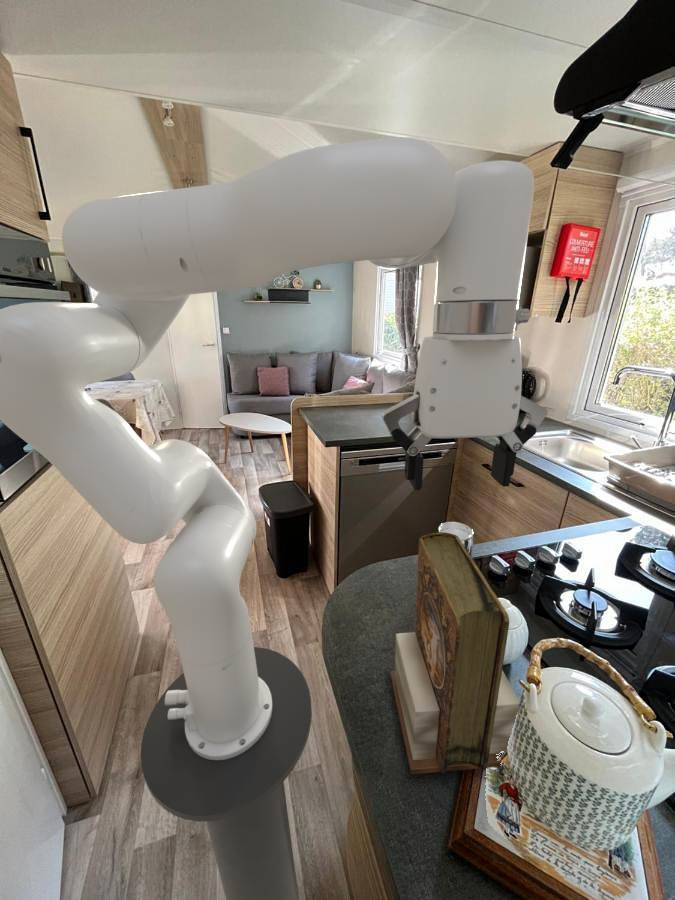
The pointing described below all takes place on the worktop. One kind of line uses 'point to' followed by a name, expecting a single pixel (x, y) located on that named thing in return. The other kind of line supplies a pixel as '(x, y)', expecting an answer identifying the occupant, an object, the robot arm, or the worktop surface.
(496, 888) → the worktop surface
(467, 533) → the silver metal cylinder
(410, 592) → the worktop surface
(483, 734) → the book
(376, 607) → the worktop surface
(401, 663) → the book rack
